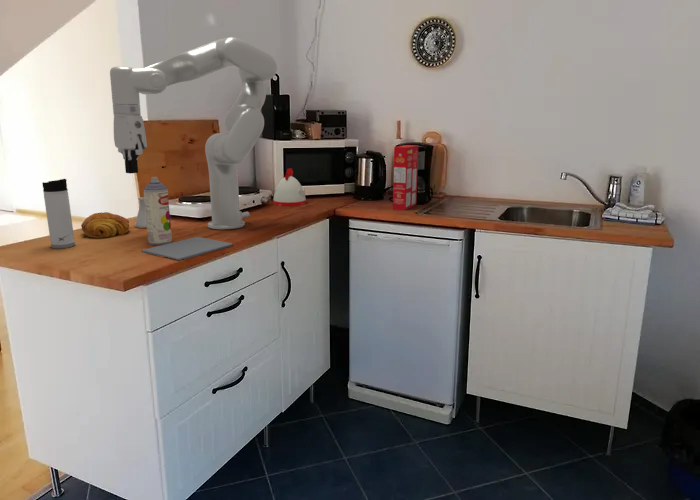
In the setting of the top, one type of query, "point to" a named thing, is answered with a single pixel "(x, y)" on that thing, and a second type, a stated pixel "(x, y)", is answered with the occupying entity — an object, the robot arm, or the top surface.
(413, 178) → the food packaging
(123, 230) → the croissant
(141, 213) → the flask
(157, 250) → the mat
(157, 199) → the aerosol can
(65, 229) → the travel mug
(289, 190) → the kitchen timer
